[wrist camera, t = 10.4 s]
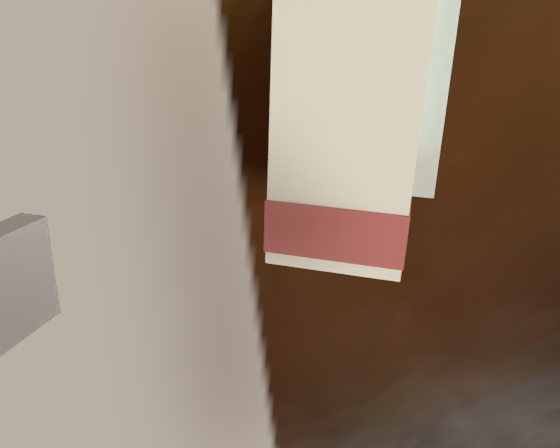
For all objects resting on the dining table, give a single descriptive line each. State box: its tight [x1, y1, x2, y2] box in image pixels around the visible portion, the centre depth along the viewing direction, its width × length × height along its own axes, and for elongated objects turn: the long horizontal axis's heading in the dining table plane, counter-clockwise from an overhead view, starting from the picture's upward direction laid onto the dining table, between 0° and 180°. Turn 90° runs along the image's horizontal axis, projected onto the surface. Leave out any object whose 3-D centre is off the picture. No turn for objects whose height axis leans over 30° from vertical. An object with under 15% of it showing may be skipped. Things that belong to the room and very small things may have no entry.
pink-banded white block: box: [264, 0, 438, 282], centre depth 21 cm, size 14×5×11 cm, turn 178°
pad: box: [412, 0, 461, 198], centre depth 26 cm, size 14×8×1 cm, turn 178°
